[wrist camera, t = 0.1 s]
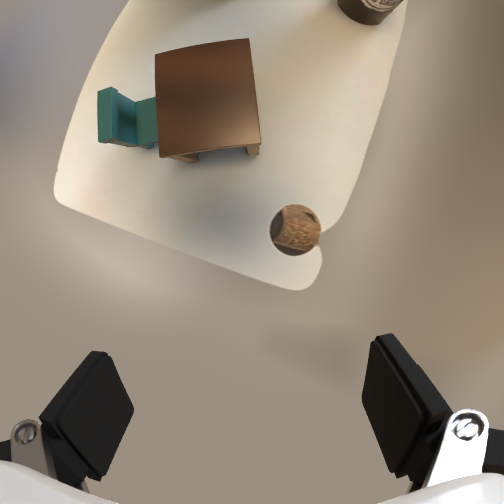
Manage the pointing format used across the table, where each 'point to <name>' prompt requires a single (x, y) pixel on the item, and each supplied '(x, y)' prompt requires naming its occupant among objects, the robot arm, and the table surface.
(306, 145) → the table surface
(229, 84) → the side table
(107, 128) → the chair
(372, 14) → the water bottle
